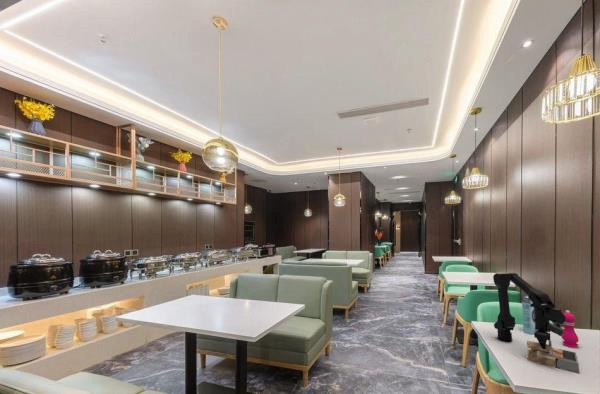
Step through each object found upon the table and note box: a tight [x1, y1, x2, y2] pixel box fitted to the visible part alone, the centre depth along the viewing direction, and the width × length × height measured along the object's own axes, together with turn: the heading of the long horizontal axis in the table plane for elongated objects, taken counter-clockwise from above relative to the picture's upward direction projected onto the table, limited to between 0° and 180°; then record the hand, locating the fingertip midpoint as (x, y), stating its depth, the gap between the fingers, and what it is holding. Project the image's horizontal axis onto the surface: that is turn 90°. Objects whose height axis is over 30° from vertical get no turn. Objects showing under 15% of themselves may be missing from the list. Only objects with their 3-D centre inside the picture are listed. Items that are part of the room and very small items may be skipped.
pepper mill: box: [561, 309, 579, 349], centre depth 166 cm, size 7×7×20 cm
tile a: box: [552, 351, 563, 359], centre depth 144 cm, size 4×4×1 cm
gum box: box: [521, 295, 546, 336], centre depth 189 cm, size 20×5×23 cm, turn 116°
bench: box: [527, 348, 557, 368], centre depth 150 cm, size 11×14×4 cm
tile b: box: [552, 346, 563, 355], centre depth 148 cm, size 4×4×1 cm
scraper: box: [526, 339, 553, 356], centre depth 151 cm, size 10×12×4 cm
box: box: [555, 348, 580, 374], centre depth 144 cm, size 8×15×4 cm, turn 139°
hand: (543, 348), depth 150 cm, fingers closed on scraper, 2 cm apart
